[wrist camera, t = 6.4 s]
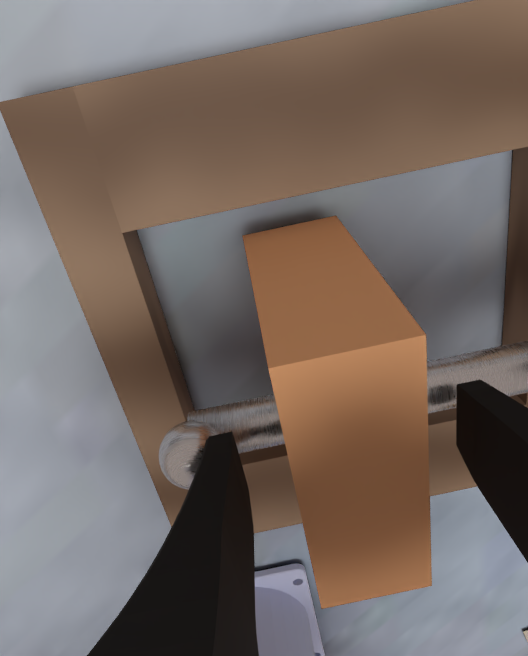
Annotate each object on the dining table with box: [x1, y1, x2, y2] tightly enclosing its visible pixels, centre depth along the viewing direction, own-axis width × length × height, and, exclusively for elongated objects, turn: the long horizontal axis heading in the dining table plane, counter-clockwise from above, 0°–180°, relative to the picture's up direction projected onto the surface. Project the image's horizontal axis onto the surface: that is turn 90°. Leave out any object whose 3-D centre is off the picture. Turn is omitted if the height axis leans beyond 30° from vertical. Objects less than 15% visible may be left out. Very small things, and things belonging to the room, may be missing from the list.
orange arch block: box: [243, 216, 432, 609], centre depth 14 cm, size 8×3×7 cm, turn 11°
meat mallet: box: [159, 340, 528, 490], centre depth 15 cm, size 4×17×8 cm, turn 101°
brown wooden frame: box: [0, 0, 528, 533], centre depth 18 cm, size 18×22×2 cm
